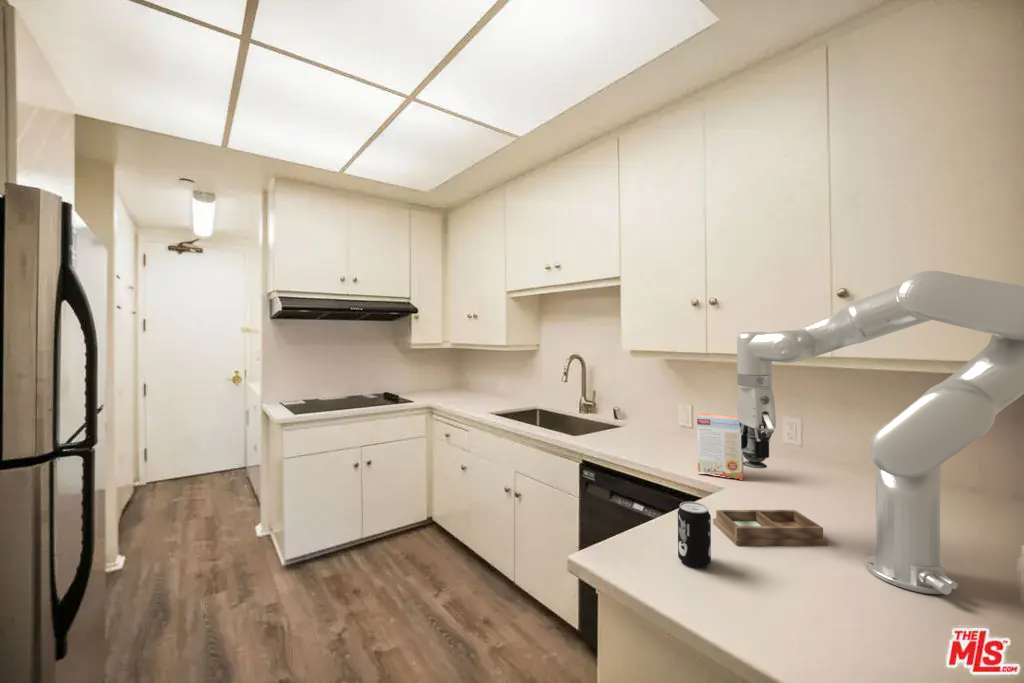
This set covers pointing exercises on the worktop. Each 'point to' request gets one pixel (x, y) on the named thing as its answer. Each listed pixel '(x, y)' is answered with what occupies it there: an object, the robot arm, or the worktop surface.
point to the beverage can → (694, 534)
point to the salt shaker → (752, 451)
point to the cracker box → (719, 445)
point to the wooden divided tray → (769, 527)
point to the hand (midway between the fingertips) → (754, 453)
